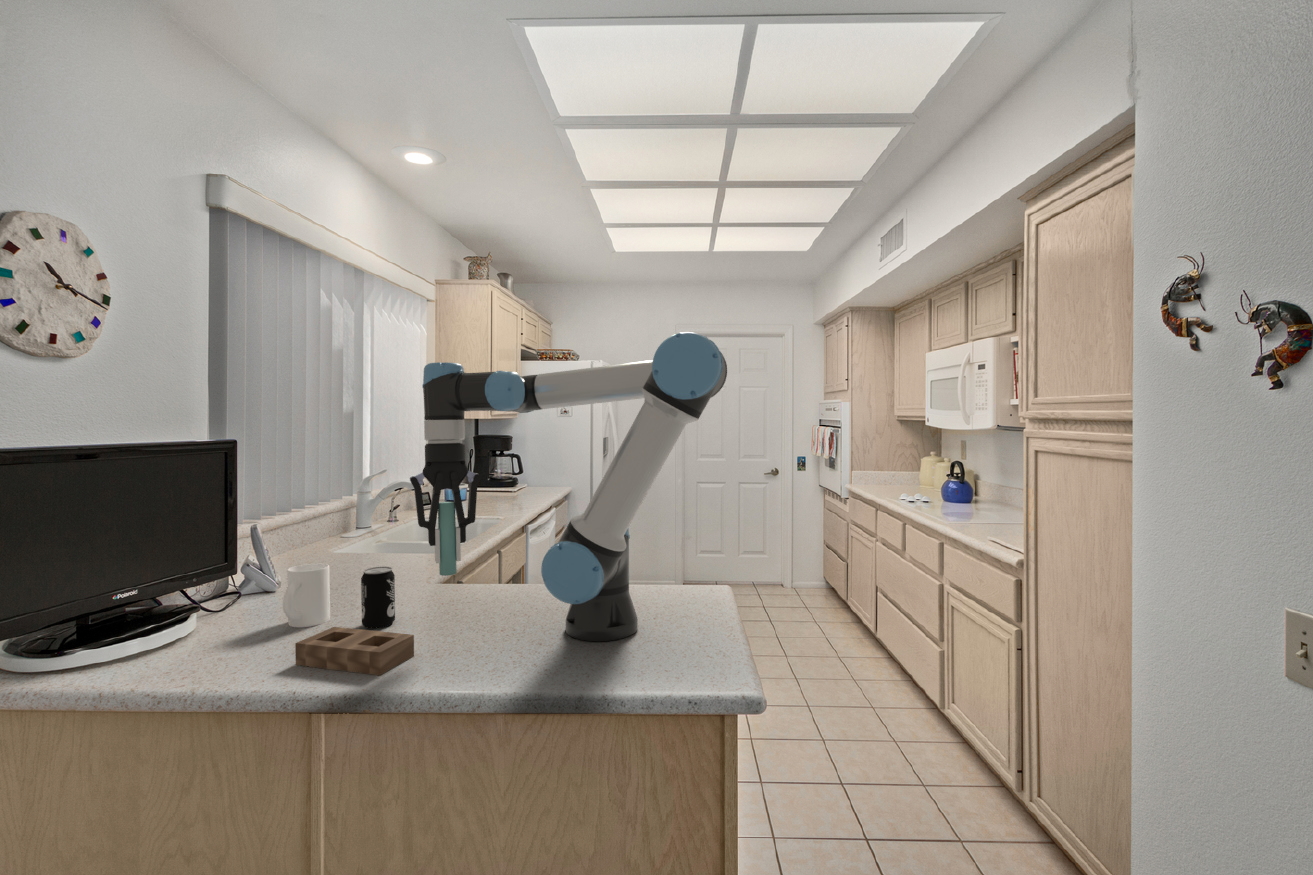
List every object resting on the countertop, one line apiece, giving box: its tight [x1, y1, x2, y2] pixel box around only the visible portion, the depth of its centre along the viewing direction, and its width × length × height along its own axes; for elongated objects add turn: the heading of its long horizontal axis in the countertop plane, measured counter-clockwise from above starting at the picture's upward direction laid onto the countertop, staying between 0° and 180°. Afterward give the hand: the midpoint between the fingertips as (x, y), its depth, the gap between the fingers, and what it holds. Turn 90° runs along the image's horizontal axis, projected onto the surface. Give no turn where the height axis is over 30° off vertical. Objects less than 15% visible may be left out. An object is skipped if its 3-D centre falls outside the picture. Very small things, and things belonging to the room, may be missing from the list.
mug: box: [282, 562, 331, 628], centre depth 131 cm, size 8×12×12 cm
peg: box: [437, 501, 458, 577], centre depth 119 cm, size 3×3×14 cm
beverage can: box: [360, 566, 396, 630], centre depth 130 cm, size 7×7×12 cm
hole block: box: [294, 626, 415, 676], centre depth 110 cm, size 18×9×4 cm, turn 75°
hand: (447, 560), depth 119 cm, fingers closed on peg, 3 cm apart
